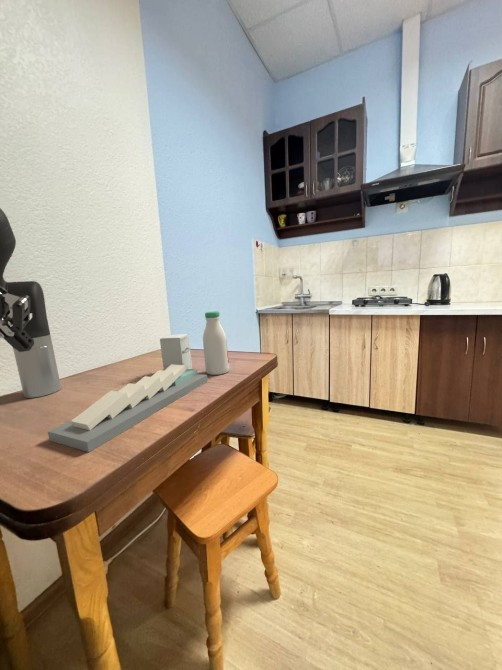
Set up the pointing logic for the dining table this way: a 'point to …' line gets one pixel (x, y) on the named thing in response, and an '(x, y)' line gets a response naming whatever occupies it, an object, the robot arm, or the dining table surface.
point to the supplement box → (176, 350)
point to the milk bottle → (215, 345)
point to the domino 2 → (132, 393)
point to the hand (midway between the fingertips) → (27, 348)
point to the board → (122, 418)
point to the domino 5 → (177, 372)
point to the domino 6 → (185, 376)
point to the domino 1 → (99, 410)
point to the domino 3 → (148, 384)
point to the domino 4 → (164, 378)
